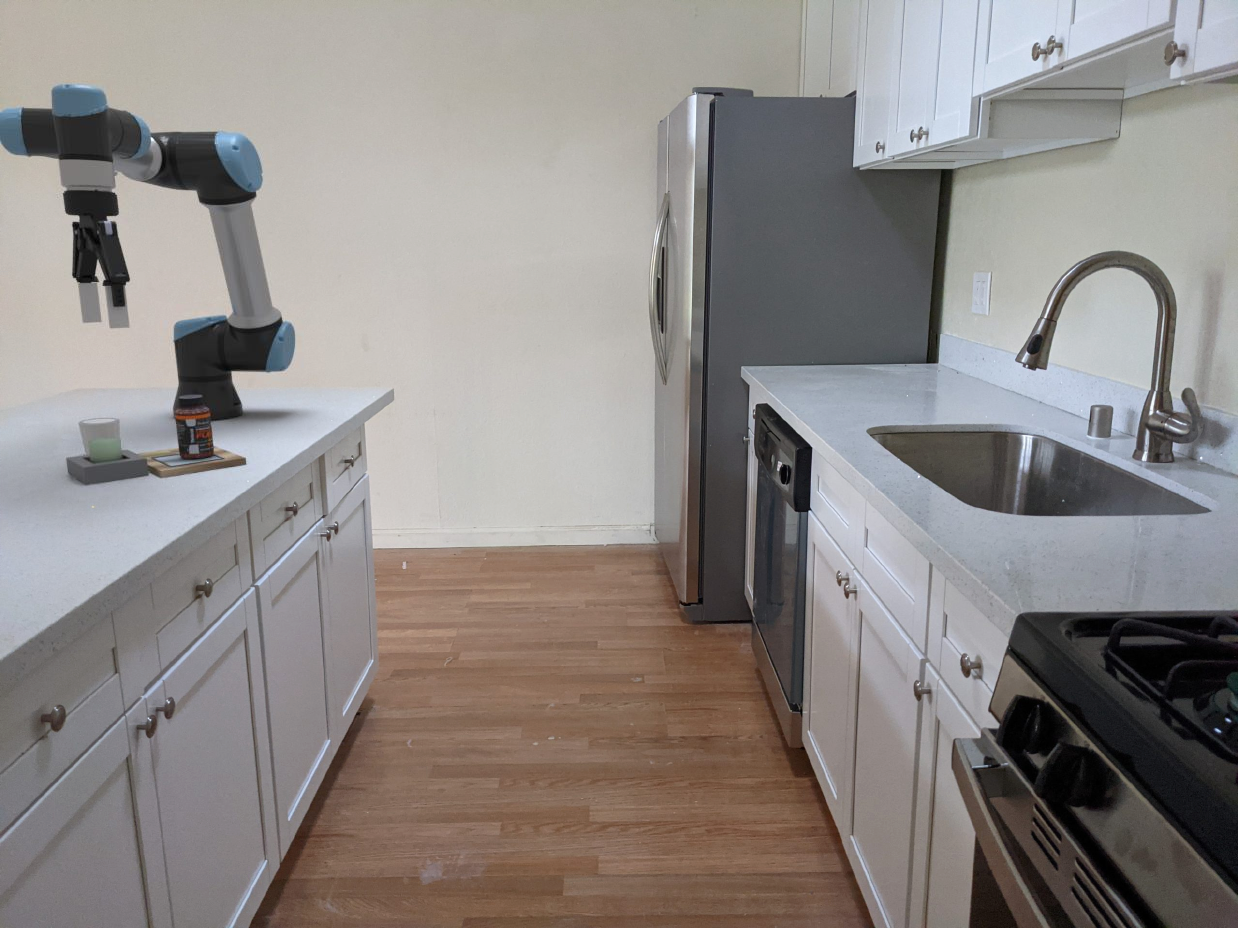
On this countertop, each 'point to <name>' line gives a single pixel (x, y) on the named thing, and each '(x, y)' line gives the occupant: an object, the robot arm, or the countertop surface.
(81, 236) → the robot arm
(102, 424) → the shot glass
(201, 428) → the supplement bottle
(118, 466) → the button housing
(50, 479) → the countertop surface
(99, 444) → the button
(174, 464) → the board
